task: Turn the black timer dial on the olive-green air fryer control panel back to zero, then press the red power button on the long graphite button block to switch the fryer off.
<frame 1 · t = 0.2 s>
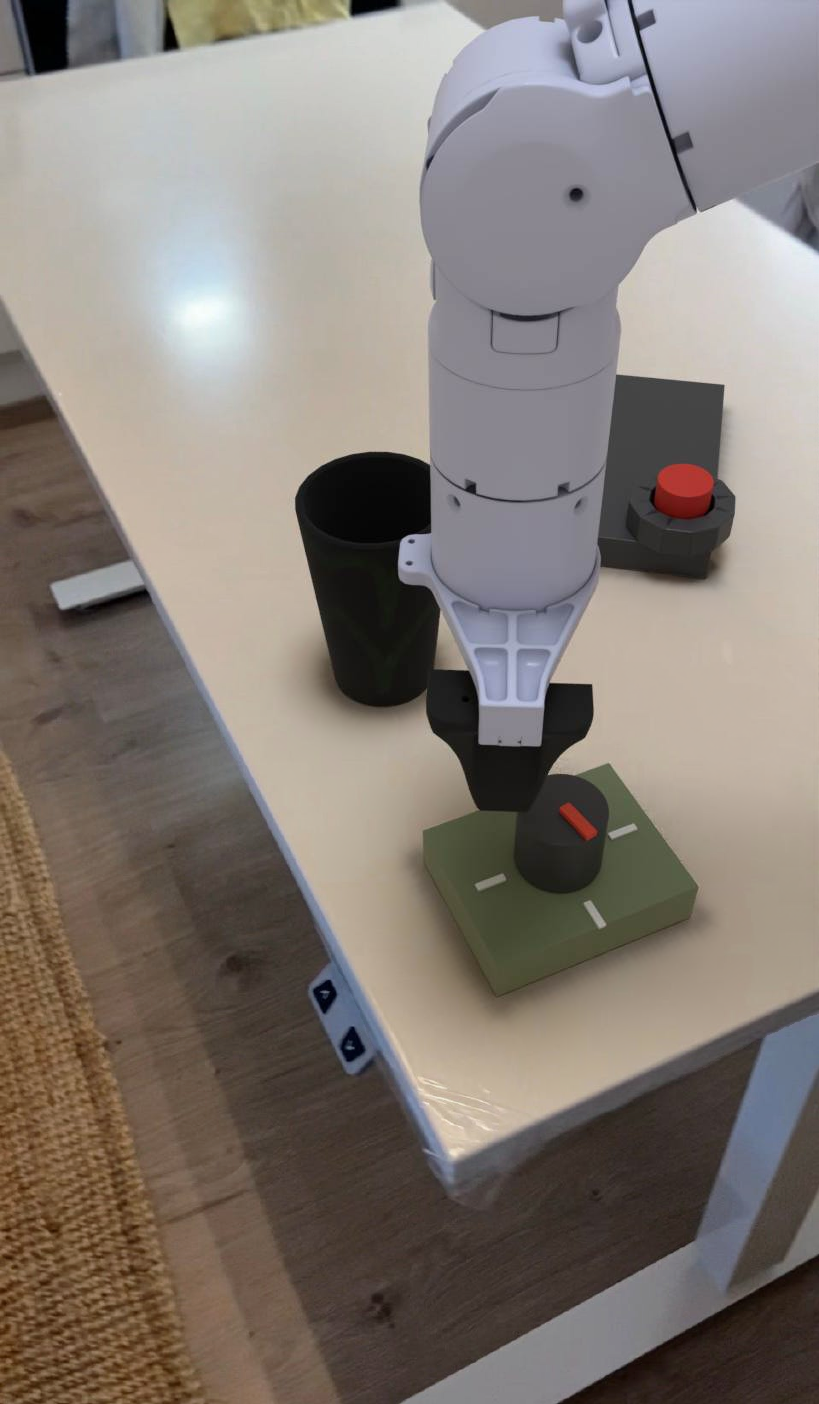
hand: (504, 729, 48), 11 cm above the table, tool pointing down, fingers open, 7 cm apart
power block: (635, 480, 78), on the table
timer dial: (560, 831, 53), point 4 cm above the table, hinge at 100.0°
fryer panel: (554, 888, 56), on the table
cup: (384, 672, 67), on the table
power button: (683, 492, 70), point 4 cm above the table, slide at 0.1 cm
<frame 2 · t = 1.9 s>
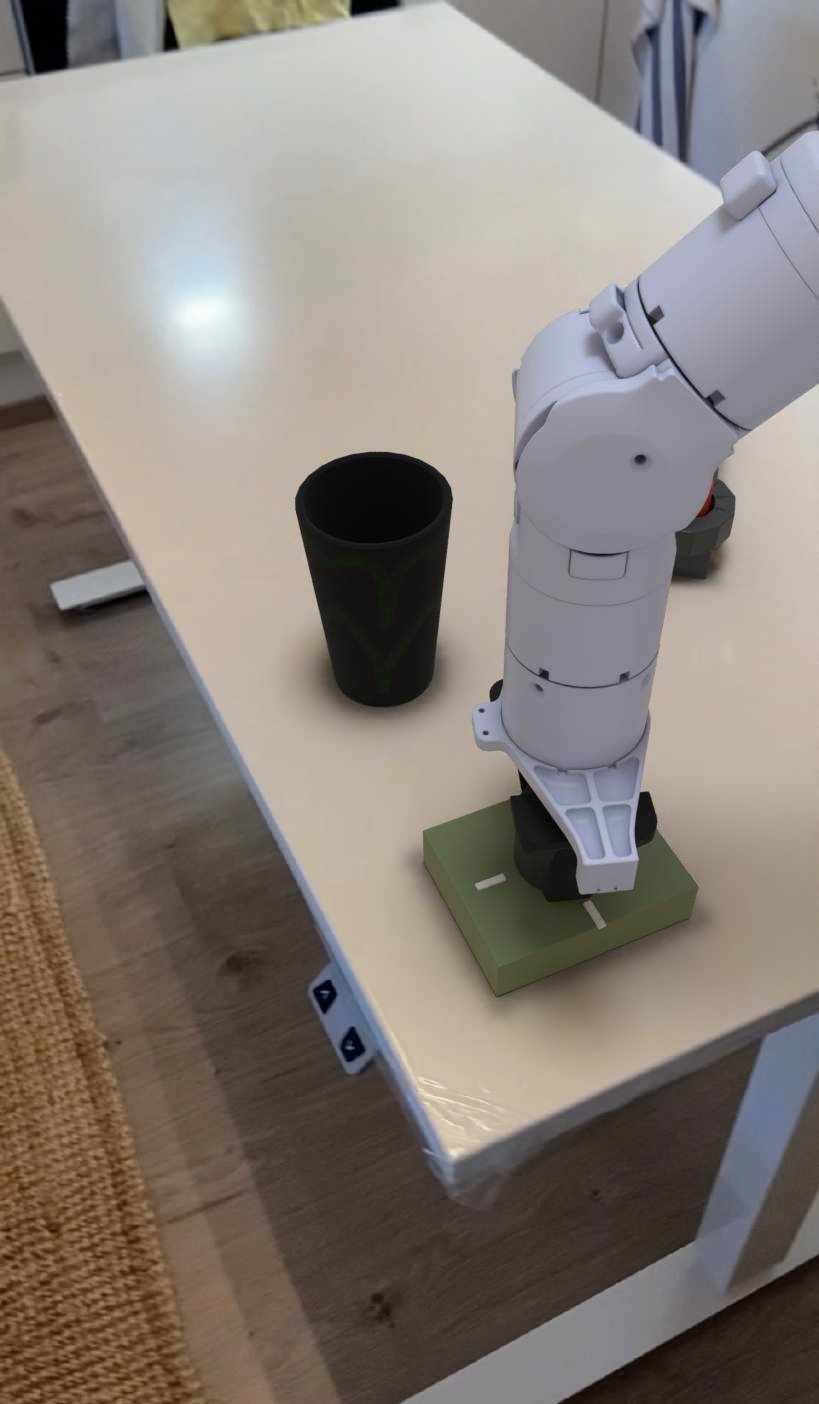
hand: (558, 850, 54), 3 cm above the table, tool pointing down, fingers closed on timer dial, 4 cm apart
timer dial: (560, 831, 53), point 4 cm above the table, hinge at 100.0°, touching gripper
everything else where it was.
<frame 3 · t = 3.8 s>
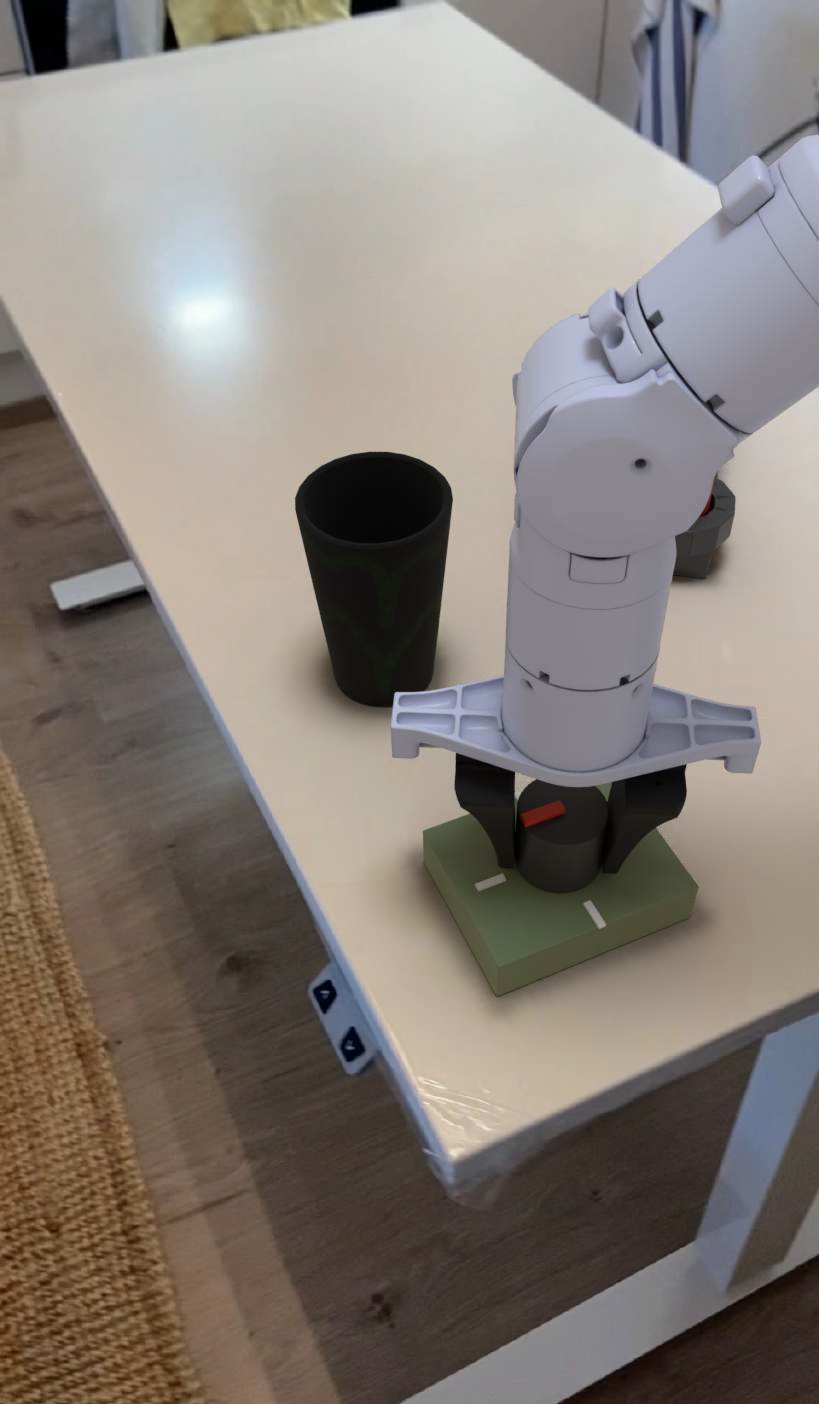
hand: (558, 853, 54), 3 cm above the table, tool pointing down, fingers closed on timer dial, 4 cm apart
timer dial: (560, 831, 53), point 4 cm above the table, hinge at -0.6°, touching gripper
everything else where it was.
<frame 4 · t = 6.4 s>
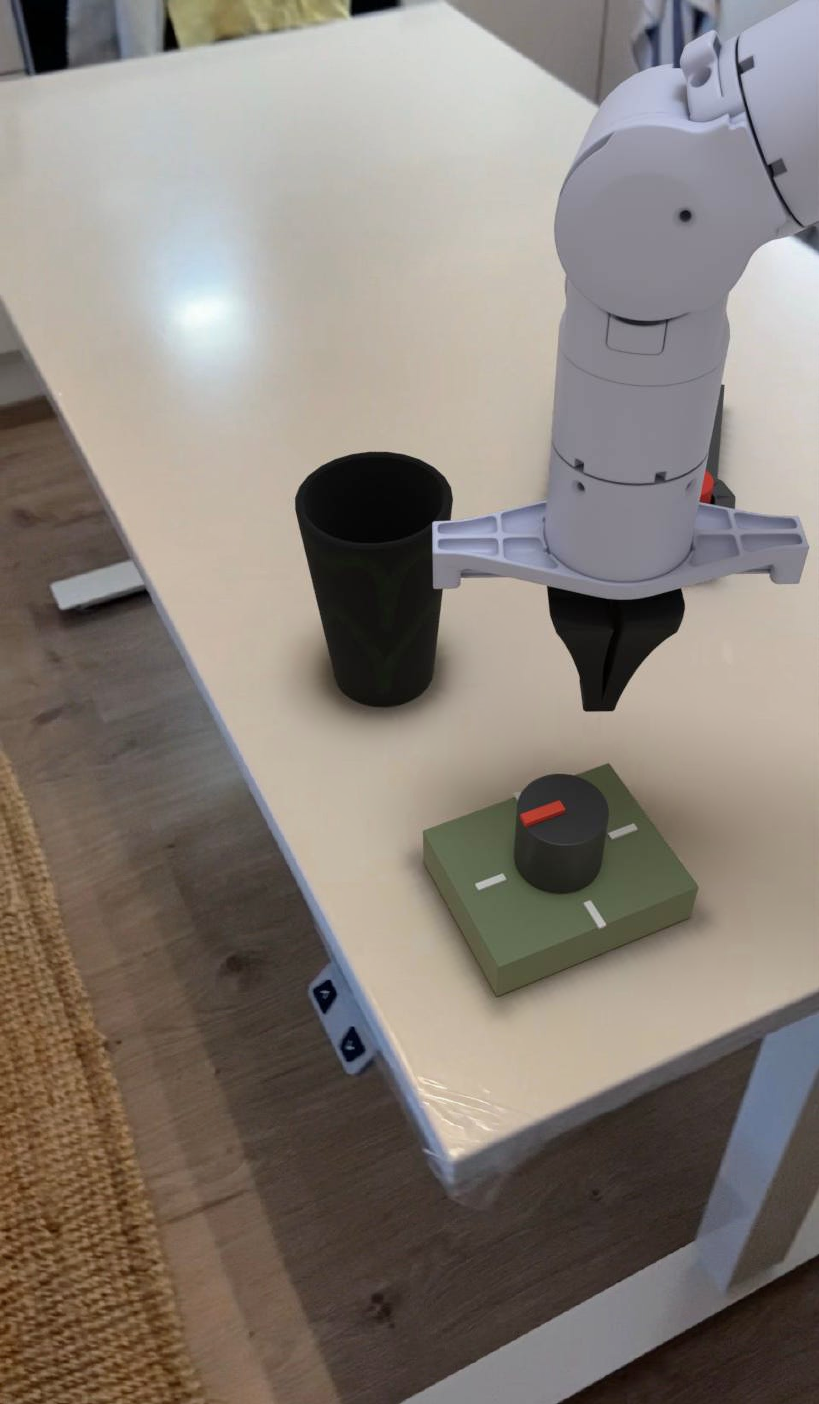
hand: (596, 695, 53), 8 cm above the table, tool pointing down, fingers closed
timer dial: (560, 831, 53), point 4 cm above the table, hinge at -0.6°
everything else where it was.
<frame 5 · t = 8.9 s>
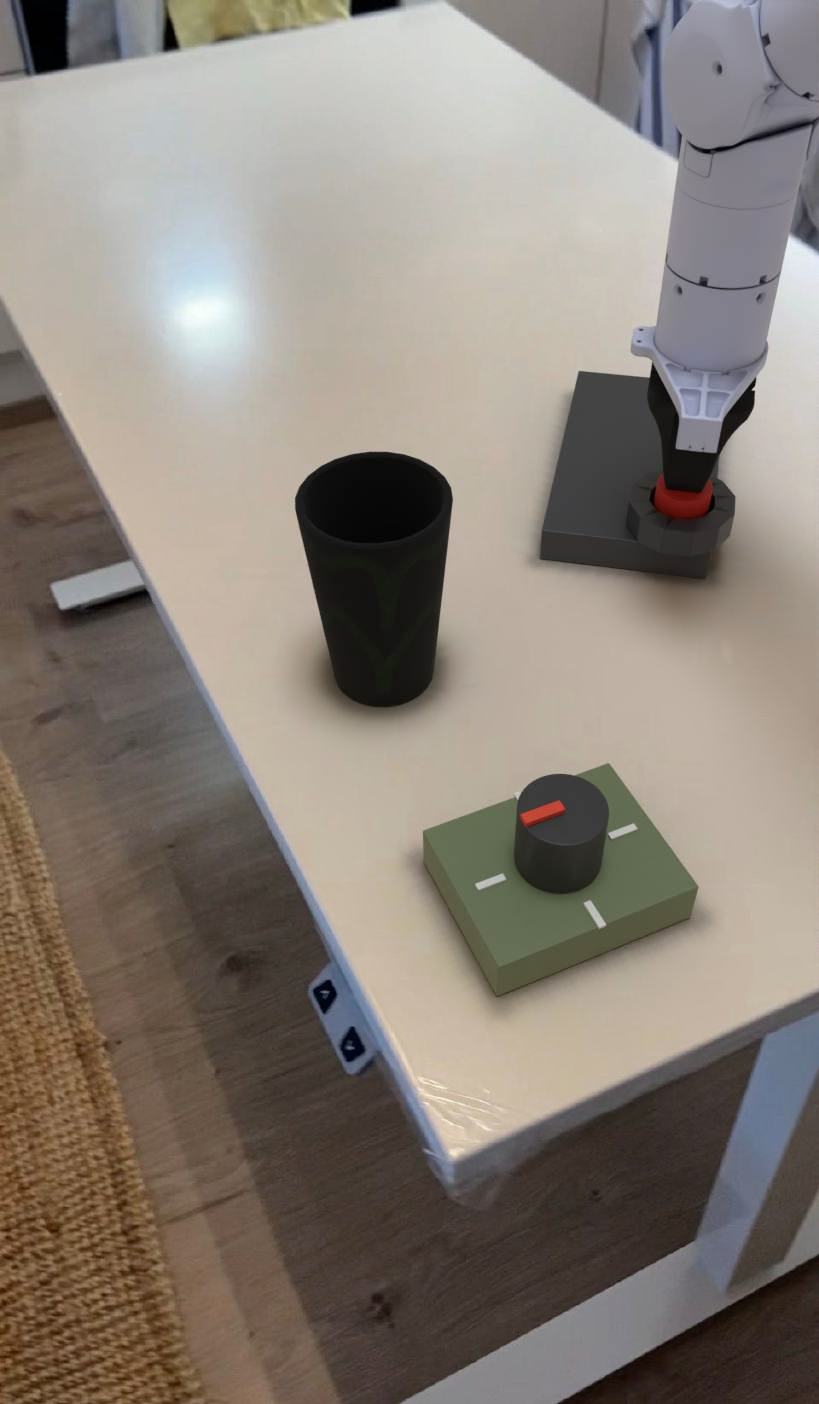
hand: (684, 484, 69), 5 cm above the table, tool pointing down, fingers closed, pressing on power button
power button: (682, 497, 70), point 4 cm above the table, slide at -0.3 cm, touching gripper
everything else where it was.
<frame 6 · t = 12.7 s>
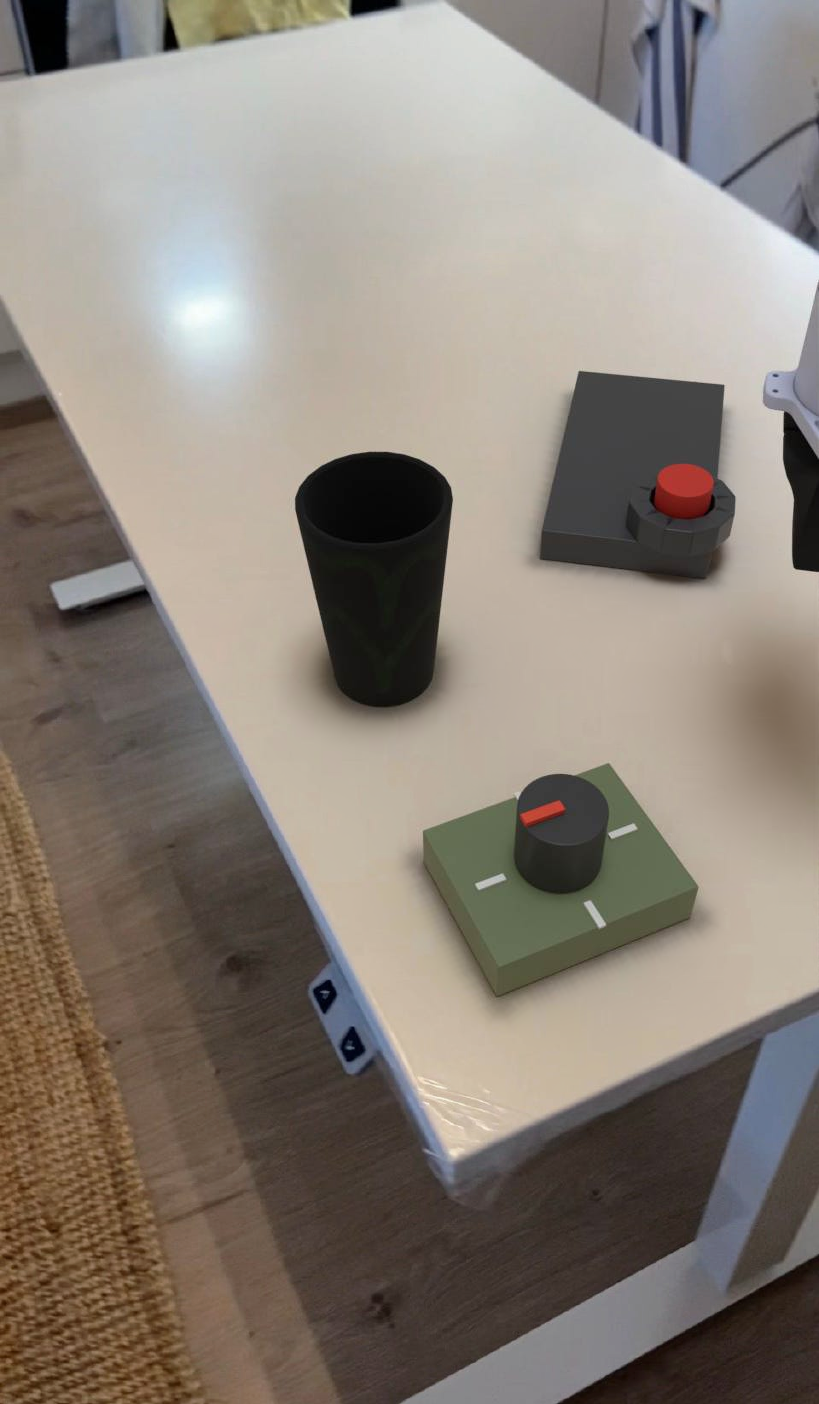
hand: (815, 562, 56), 10 cm above the table, tool pointing down, fingers closed
power button: (683, 492, 70), point 4 cm above the table, slide at 0.1 cm
everything else where it was.
at the end: timer dial at -1° (first picture: +100°); power button pushed in 1.2 cm at the most during the clip, back to where it started at the end; power button slide at 0.1 cm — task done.
